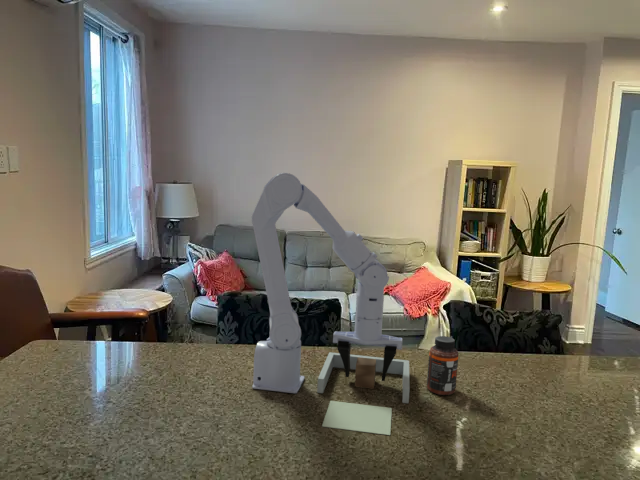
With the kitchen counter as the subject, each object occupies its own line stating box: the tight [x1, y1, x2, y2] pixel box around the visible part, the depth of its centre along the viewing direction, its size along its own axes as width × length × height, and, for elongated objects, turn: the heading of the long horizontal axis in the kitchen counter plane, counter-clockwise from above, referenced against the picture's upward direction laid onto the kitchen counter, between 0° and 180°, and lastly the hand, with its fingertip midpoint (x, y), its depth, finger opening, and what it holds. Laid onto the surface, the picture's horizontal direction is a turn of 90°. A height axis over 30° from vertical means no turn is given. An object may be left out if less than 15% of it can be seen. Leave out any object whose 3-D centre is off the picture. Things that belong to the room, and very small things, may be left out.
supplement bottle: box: [426, 335, 459, 396], centre depth 102 cm, size 6×6×11 cm
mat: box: [321, 400, 393, 436], centre depth 90 cm, size 12×10×1 cm
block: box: [354, 357, 376, 390], centre depth 104 cm, size 4×4×5 cm
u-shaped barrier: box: [316, 351, 411, 404], centre depth 105 cm, size 18×15×3 cm
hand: (365, 377), depth 105 cm, fingers open, 7 cm apart
